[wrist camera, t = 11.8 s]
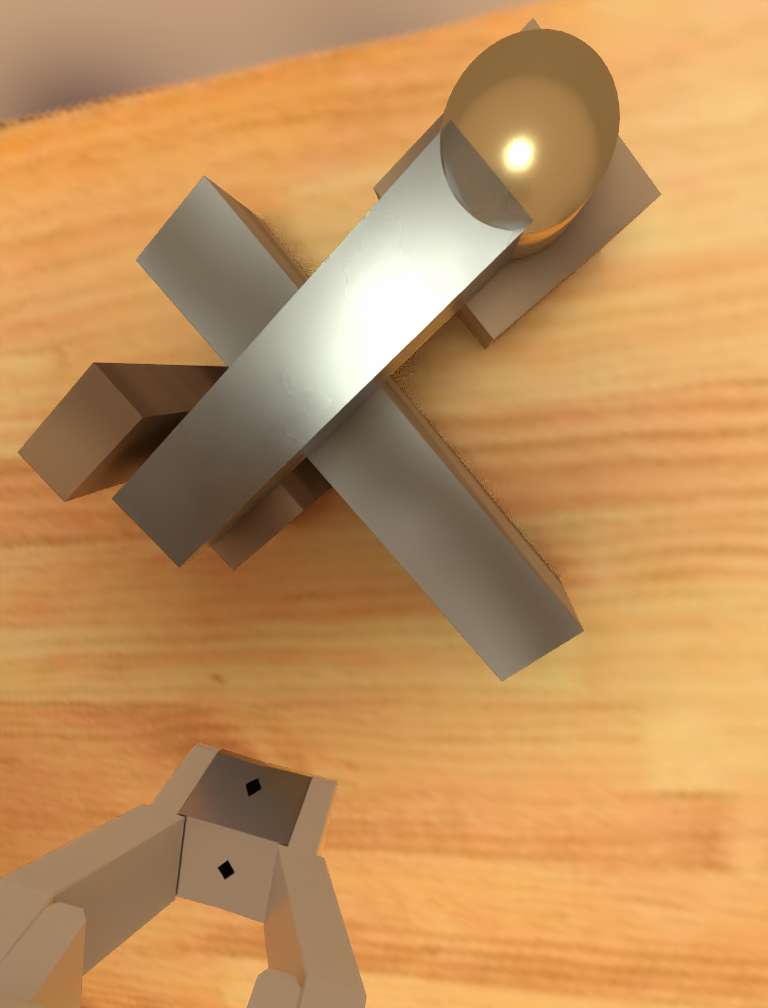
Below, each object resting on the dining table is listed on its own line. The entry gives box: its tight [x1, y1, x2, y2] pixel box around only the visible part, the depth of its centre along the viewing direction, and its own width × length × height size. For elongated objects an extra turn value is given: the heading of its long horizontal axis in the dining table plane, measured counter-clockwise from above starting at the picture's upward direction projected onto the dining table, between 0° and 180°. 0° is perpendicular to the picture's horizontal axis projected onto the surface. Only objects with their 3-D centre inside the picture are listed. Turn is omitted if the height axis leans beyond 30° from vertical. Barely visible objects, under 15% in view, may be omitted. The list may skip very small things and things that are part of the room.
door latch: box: [18, 18, 661, 681], centre depth 18 cm, size 19×22×10 cm
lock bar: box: [112, 29, 620, 568], centre depth 15 cm, size 17×4×3 cm, turn 133°
